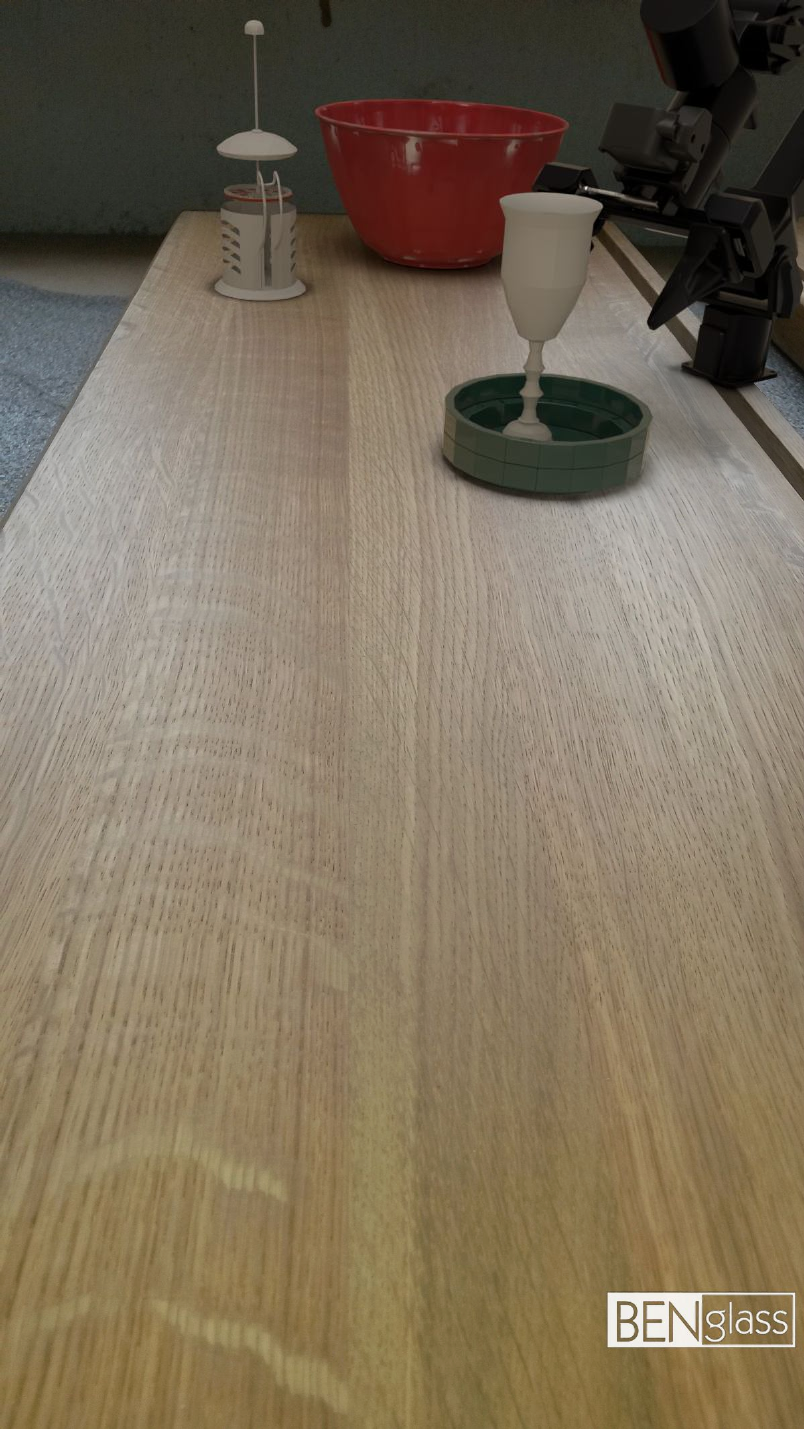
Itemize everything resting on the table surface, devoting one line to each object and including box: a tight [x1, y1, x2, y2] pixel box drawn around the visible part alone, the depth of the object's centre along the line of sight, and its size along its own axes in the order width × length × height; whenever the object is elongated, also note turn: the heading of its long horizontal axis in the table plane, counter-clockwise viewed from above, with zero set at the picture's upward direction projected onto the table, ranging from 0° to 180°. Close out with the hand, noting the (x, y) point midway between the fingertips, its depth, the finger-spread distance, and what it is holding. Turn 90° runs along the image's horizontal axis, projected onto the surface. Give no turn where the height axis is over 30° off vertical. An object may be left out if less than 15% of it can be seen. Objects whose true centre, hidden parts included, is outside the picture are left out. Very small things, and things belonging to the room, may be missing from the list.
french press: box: [214, 19, 307, 301], centre depth 123 cm, size 10×12×25 cm
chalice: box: [500, 193, 603, 441], centre depth 87 cm, size 7×7×18 cm
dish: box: [441, 372, 654, 495], centre depth 92 cm, size 15×15×4 cm
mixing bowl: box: [314, 98, 570, 270], centre depth 141 cm, size 28×28×16 cm
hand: (596, 313), depth 91 cm, fingers open, 9 cm apart
